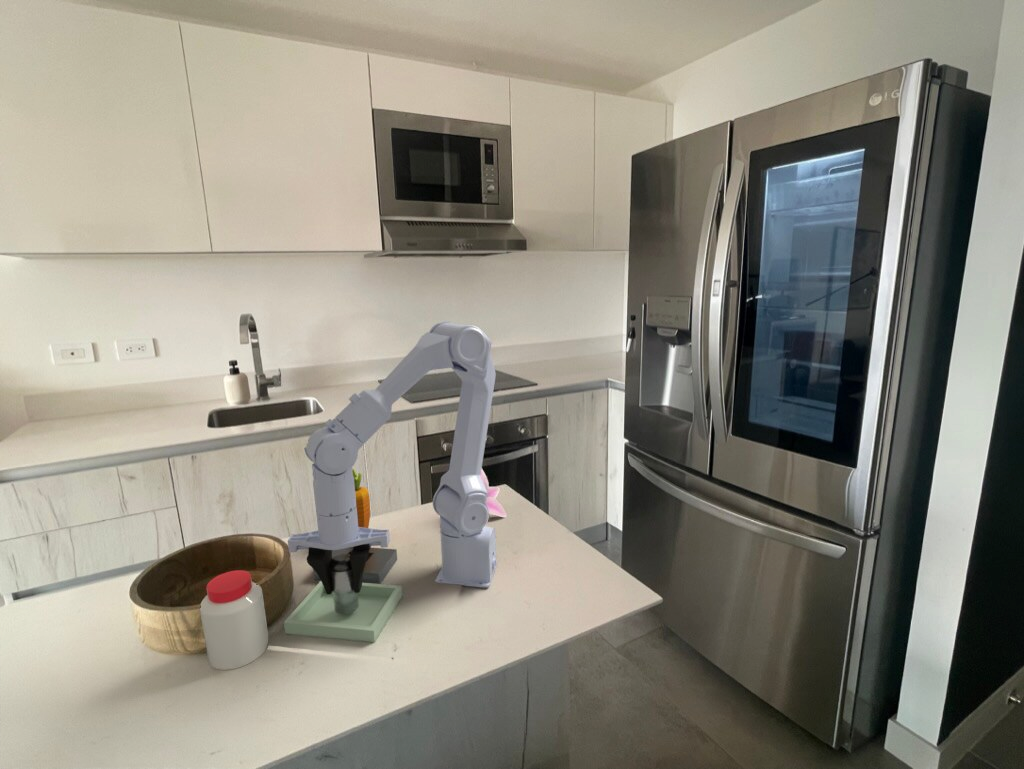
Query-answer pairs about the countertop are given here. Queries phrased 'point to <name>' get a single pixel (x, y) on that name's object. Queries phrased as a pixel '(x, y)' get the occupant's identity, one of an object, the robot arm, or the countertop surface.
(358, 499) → the carrot
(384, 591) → the tray
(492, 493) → the lily
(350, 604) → the pin
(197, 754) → the countertop surface
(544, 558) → the countertop surface
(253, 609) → the pill bottle
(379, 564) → the hitch block
